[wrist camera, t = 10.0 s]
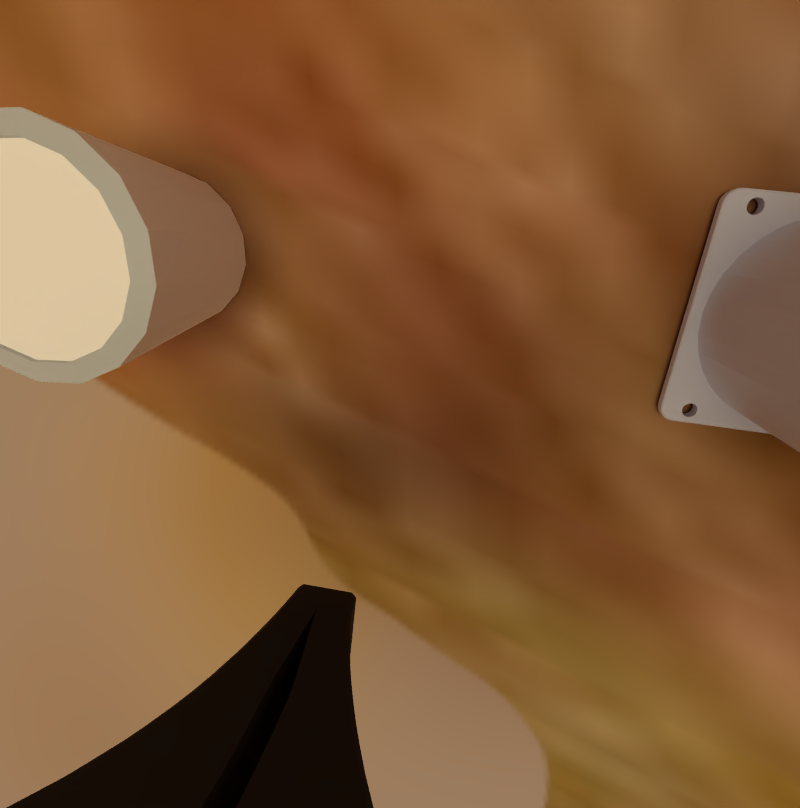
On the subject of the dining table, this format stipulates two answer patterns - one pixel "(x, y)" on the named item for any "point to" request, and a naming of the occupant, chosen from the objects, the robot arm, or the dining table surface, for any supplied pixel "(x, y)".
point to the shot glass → (102, 251)
